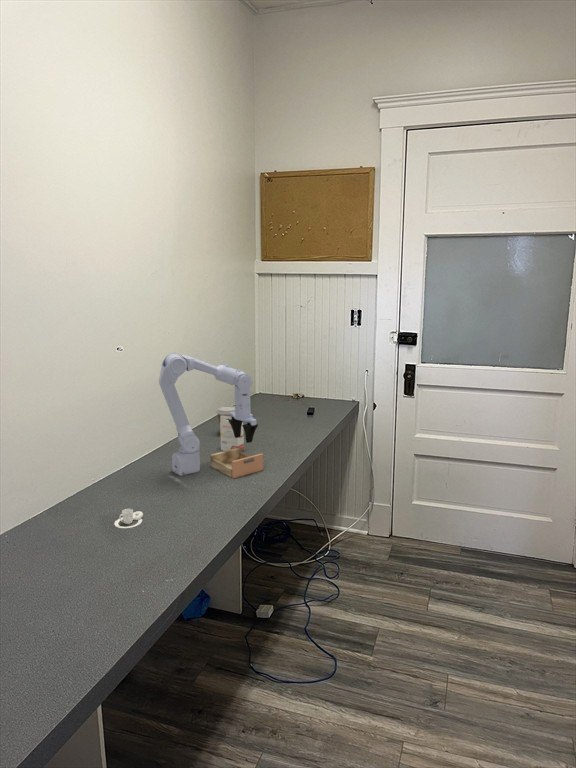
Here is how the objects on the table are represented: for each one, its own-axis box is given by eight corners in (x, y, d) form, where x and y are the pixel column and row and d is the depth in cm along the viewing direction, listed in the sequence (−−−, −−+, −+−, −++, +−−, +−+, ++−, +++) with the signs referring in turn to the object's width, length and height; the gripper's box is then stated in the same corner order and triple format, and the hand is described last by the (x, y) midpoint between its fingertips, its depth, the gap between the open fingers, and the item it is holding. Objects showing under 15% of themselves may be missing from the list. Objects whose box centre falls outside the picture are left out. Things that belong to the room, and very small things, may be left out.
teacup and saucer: (141, 514, 172) (140, 502, 171) (147, 525, 165) (147, 512, 165) (111, 521, 168) (110, 508, 167) (117, 532, 161) (116, 519, 160)
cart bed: (231, 481, 196) (231, 465, 195) (210, 470, 207) (210, 454, 206) (261, 472, 204) (261, 457, 203) (240, 462, 215) (239, 447, 214)
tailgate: (234, 478, 195) (234, 462, 193) (232, 477, 196) (231, 461, 195) (264, 470, 202) (264, 454, 201) (261, 469, 204) (261, 453, 202)
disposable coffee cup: (216, 437, 245) (215, 411, 242) (218, 431, 254) (217, 405, 252) (238, 437, 245) (237, 410, 243) (239, 430, 254) (238, 405, 252)
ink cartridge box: (244, 449, 229) (243, 414, 226) (238, 453, 225) (237, 418, 222) (227, 446, 233) (226, 412, 230) (220, 450, 229) (219, 415, 226)
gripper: (263, 406, 203) (263, 442, 206) (240, 399, 214) (241, 433, 217) (247, 409, 199) (247, 446, 202) (224, 402, 210) (225, 436, 213)
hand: (243, 439), depth 209 cm, fingers open, 7 cm apart
